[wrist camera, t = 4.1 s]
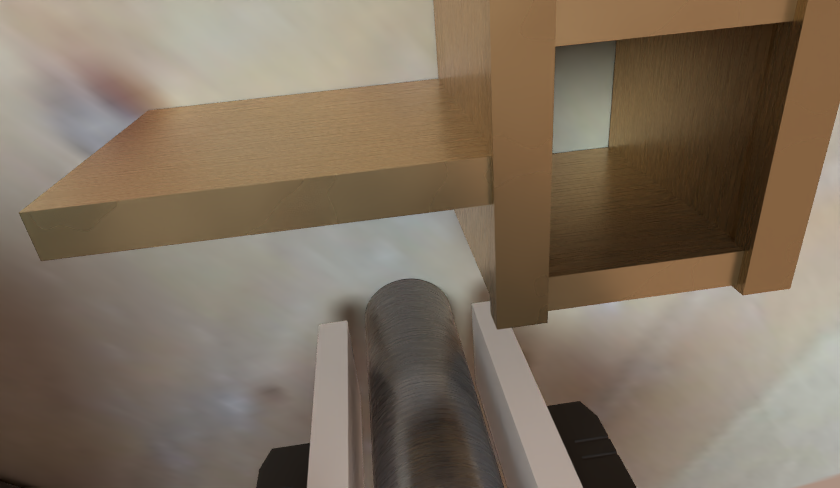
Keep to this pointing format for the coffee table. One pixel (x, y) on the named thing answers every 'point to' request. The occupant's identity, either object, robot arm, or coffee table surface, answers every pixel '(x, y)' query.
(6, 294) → the coffee table surface
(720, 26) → the hinge
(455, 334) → the hinge pin
